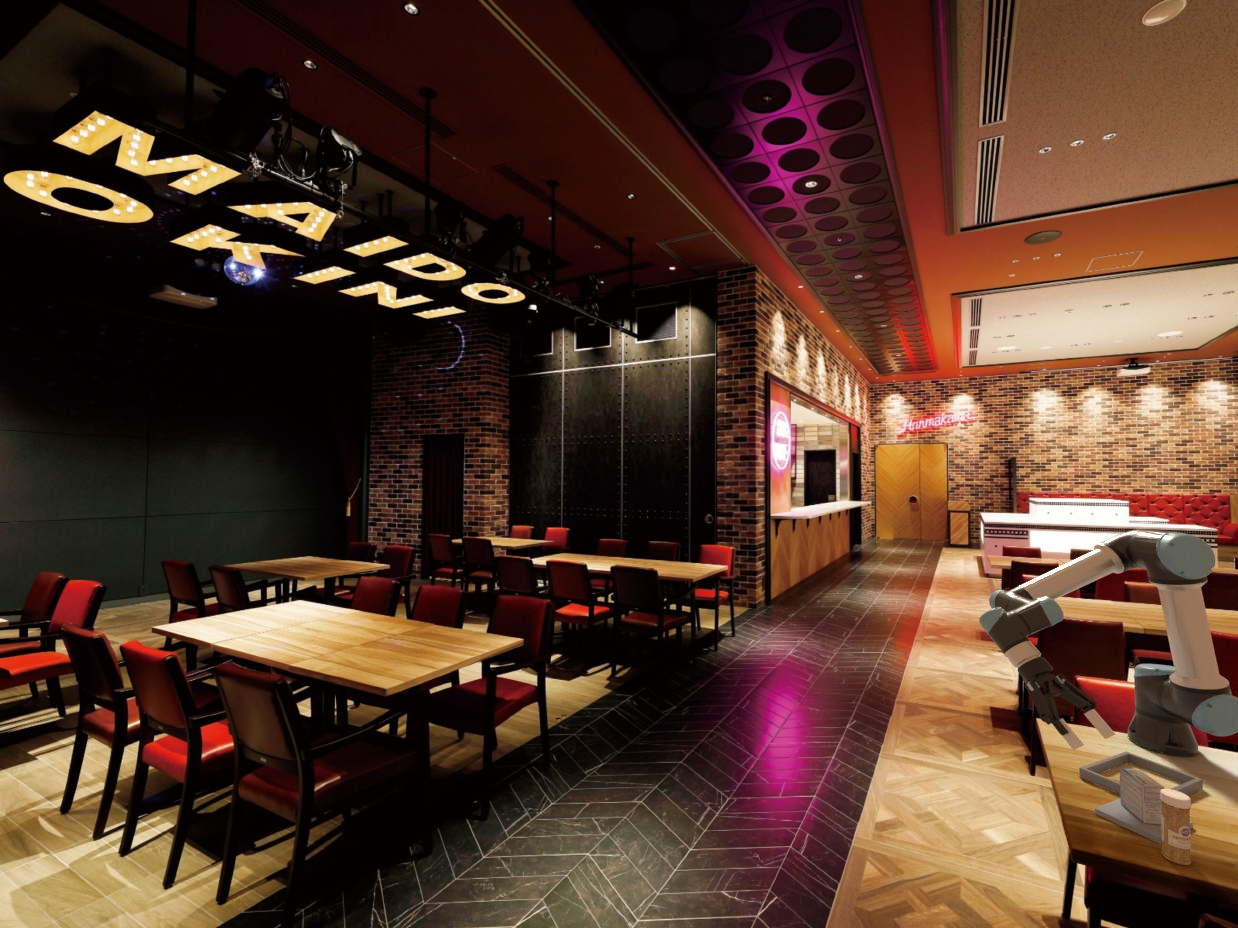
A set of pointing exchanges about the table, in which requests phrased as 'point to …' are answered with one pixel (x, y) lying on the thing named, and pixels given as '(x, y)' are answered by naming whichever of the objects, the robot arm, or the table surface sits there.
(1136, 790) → the medicine box
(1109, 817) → the board
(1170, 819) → the sprinkles bottle
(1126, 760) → the grey rectangular frame
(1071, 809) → the table surface
